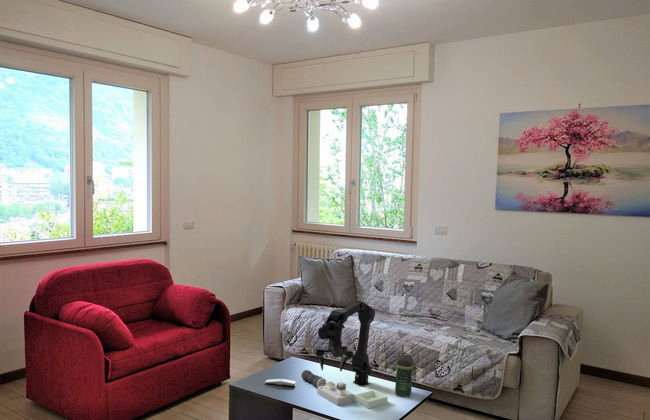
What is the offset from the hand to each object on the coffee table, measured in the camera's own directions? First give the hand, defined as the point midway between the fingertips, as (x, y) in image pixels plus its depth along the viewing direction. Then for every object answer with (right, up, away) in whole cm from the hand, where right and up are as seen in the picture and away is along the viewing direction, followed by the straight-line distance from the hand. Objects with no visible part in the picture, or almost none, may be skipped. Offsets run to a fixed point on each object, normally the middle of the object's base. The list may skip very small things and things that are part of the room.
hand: (331, 370), depth 239 cm
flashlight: (-9, -13, +18) cm, 23 cm away
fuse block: (+2, -13, +2) cm, 14 cm away
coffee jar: (+36, -15, +10) cm, 40 cm away
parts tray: (+19, -14, -2) cm, 23 cm away
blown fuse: (+4, -14, -1) cm, 14 cm away
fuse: (-1, -13, +5) cm, 14 cm away
